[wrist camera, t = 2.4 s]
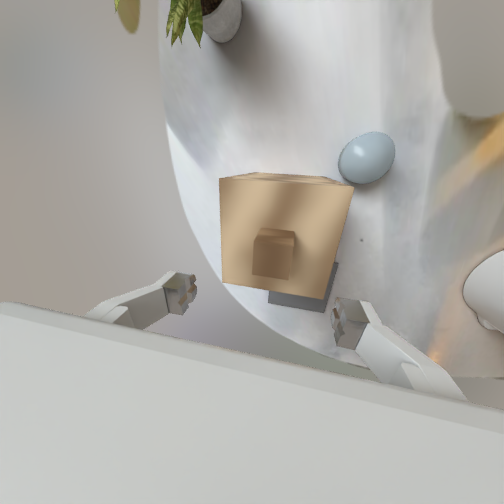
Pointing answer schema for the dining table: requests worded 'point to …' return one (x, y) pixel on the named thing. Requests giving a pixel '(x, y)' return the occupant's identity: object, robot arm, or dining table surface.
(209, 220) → the dining table surface
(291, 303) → the felt mat
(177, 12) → the house plant
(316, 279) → the oak cover
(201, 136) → the dining table surface
